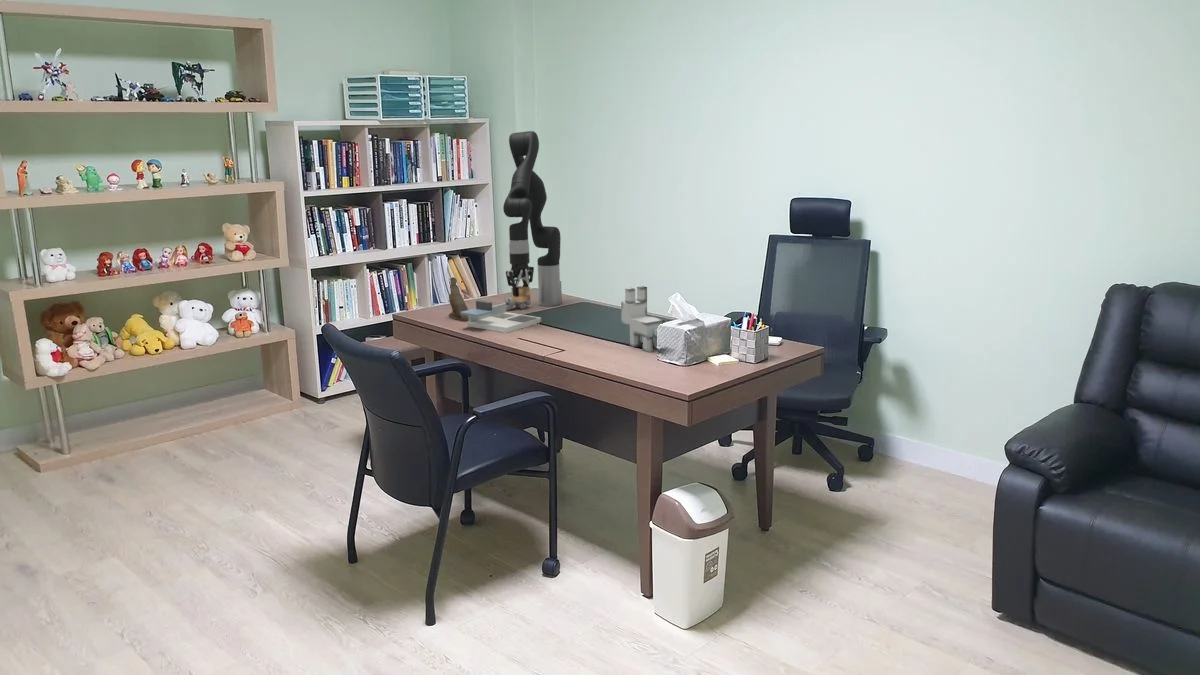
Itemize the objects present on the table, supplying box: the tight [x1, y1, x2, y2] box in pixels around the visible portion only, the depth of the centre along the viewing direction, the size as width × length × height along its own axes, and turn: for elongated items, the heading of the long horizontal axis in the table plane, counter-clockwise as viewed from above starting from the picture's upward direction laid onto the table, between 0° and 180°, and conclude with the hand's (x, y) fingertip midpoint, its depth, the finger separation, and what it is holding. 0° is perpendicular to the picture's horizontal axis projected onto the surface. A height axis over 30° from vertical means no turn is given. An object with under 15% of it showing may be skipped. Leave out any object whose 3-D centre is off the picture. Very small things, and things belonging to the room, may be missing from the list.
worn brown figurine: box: [448, 277, 469, 322], centre depth 350 cm, size 12×6×18 cm, turn 38°
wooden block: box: [511, 285, 531, 302], centre depth 337 cm, size 5×5×5 cm
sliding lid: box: [461, 300, 494, 317], centre depth 333 cm, size 9×9×4 cm
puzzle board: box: [467, 302, 542, 334], centre depth 339 cm, size 20×20×6 cm
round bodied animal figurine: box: [504, 291, 532, 312], centre depth 366 cm, size 7×12×8 cm, turn 127°
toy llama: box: [620, 285, 666, 353], centre depth 302 cm, size 8×18×20 cm, turn 34°
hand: (520, 295), depth 337 cm, fingers closed on wooden block, 5 cm apart
